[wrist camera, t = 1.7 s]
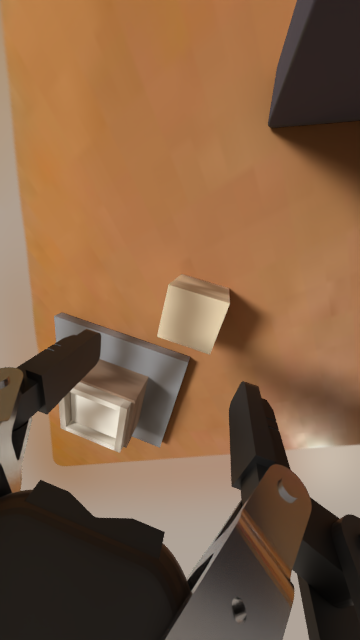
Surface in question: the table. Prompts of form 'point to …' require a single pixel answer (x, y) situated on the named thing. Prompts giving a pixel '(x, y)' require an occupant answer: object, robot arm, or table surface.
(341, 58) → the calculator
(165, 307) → the maple cube
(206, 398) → the table surface
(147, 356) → the plate
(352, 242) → the table surface
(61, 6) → the table surface
